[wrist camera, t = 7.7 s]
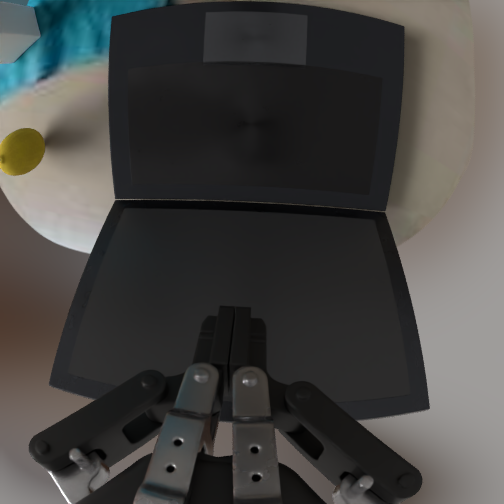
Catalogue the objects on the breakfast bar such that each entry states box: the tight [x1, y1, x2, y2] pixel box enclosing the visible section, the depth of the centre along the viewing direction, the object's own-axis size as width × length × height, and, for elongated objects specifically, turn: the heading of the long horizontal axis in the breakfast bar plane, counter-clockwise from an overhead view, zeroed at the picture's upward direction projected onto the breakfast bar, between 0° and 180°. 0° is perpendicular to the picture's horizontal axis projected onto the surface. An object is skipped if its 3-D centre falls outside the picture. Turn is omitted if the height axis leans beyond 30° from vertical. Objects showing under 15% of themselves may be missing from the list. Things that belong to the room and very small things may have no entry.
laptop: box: [108, 1, 404, 211], centre depth 26 cm, size 21×30×2 cm
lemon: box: [0, 128, 45, 176], centre depth 25 cm, size 6×6×8 cm
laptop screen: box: [49, 200, 430, 423], centre depth 24 cm, size 21×30×1 cm
